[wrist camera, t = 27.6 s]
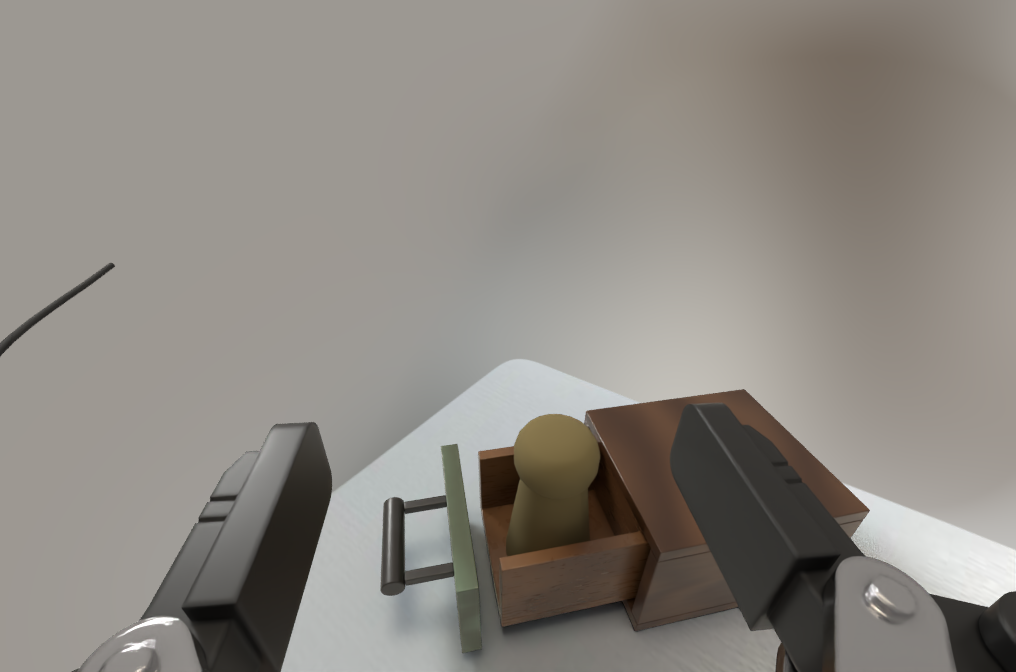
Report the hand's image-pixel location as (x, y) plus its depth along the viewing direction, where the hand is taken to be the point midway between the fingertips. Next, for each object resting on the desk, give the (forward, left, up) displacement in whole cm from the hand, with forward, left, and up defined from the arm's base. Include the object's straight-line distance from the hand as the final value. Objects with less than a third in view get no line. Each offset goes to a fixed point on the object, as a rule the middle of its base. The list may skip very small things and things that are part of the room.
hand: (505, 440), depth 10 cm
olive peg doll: (-7, +10, -23) cm, 26 cm away
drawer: (-8, +8, -23) cm, 26 cm away
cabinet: (-1, +20, -24) cm, 32 cm away
